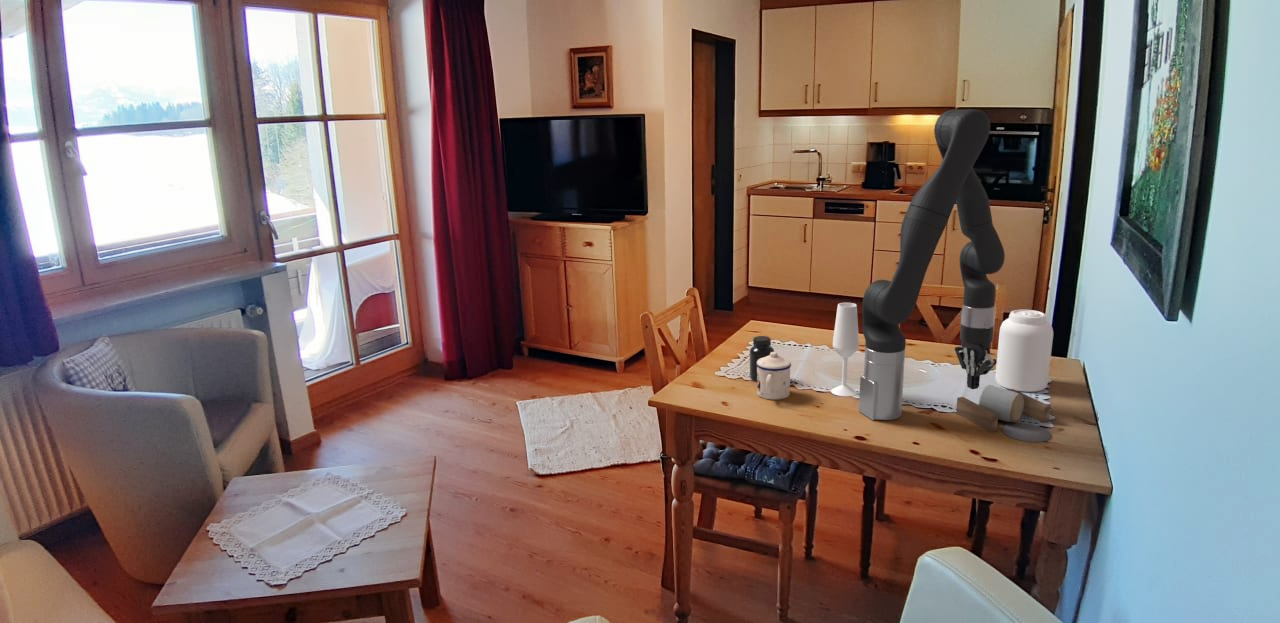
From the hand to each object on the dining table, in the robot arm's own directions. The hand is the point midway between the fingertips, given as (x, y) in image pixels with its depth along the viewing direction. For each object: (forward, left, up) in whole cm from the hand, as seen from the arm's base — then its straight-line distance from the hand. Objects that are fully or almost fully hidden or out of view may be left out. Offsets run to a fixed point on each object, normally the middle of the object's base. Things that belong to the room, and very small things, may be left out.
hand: (972, 387), depth 188 cm
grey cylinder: (0, -11, -4) cm, 12 cm away
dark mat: (-1, -20, -4) cm, 20 cm away
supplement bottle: (-42, +34, -4) cm, 55 cm away
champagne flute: (-26, +17, -4) cm, 32 cm away
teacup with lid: (-45, +21, -4) cm, 50 cm away
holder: (0, -11, -4) cm, 12 cm away
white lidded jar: (+20, +5, -4) cm, 21 cm away
